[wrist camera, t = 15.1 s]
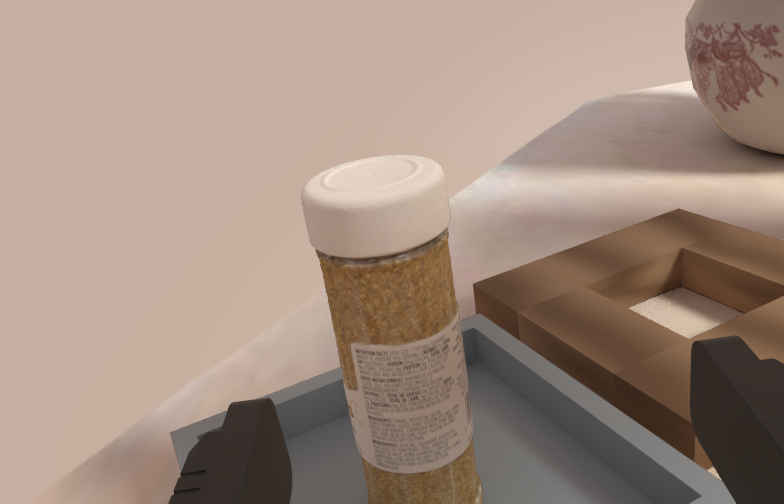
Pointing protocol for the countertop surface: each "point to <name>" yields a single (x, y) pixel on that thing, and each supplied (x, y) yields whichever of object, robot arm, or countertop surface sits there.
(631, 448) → the parts tray
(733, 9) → the chamber pot
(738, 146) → the countertop surface
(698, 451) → the socket board
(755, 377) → the robot arm
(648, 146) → the countertop surface
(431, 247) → the spice jar
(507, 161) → the countertop surface
